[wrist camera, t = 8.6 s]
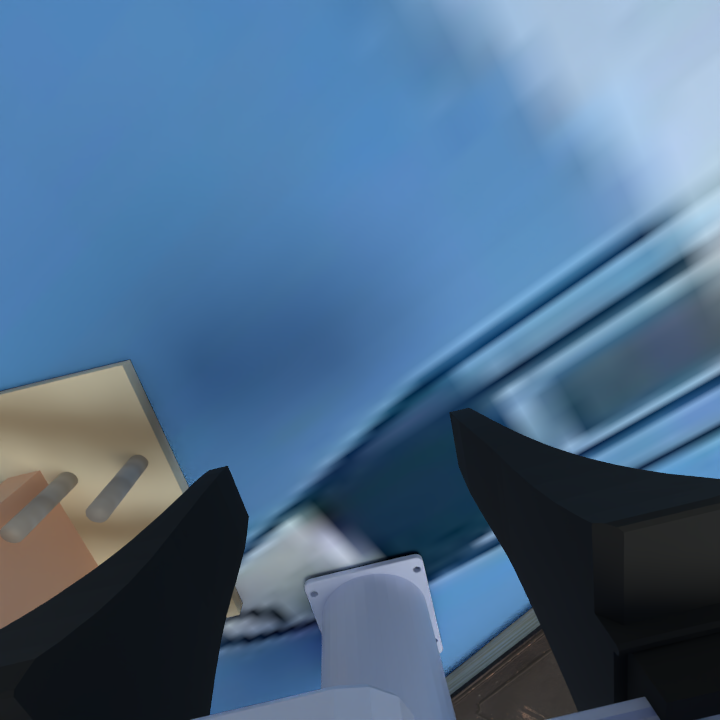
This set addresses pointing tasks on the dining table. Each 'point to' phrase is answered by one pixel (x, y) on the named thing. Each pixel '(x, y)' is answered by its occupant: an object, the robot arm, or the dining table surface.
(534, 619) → the hardcover book
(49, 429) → the dish rack
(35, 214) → the dining table surface
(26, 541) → the brown rectangular block
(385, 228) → the dining table surface
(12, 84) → the dining table surface
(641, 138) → the dining table surface
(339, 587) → the robot arm
